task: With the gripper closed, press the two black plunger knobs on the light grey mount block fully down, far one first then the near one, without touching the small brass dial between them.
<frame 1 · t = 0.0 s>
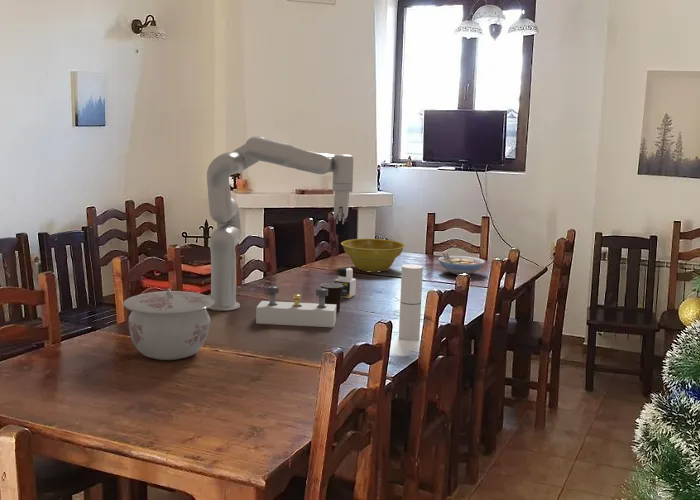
hand: (341, 232, 287), 31 cm above the table, tool pointing down, fingers open, 9 cm apart
chamber pot: (170, 354, 236), on the table
medicine bottle: (344, 296, 322), on the table
coffee mug: (332, 310, 298), on the table
knob far: (321, 299, 276), point 9 cm above the table, slide at 0.0 cm
cylindrical container: (409, 338, 262), on the table
mount: (296, 321, 278), on the table
ramen bowl: (460, 274, 377), on the table
planter bowl: (372, 270, 380), on the table
brass dial: (297, 301, 276), point 7 cm above the table, slide at 0.0 cm
knob near: (272, 297, 277), point 9 cm above the table, slide at 0.0 cm
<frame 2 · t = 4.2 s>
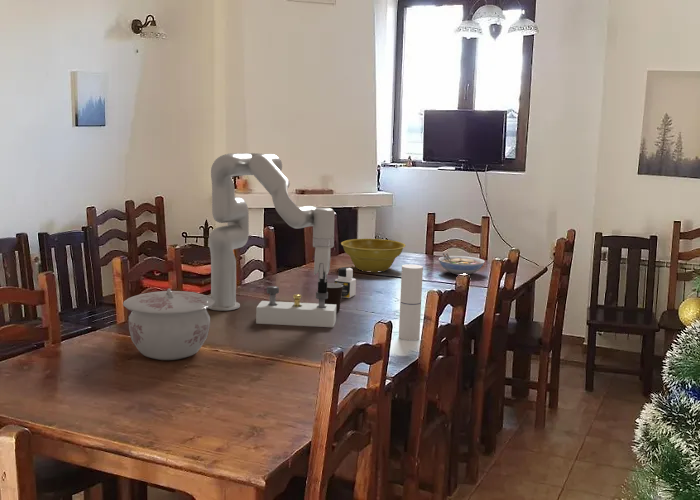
hand: (322, 292, 275), 11 cm above the table, tool pointing down, fingers closed
knob far: (321, 302, 276), point 8 cm above the table, slide at 1.1 cm, touching gripper
everything else where it was.
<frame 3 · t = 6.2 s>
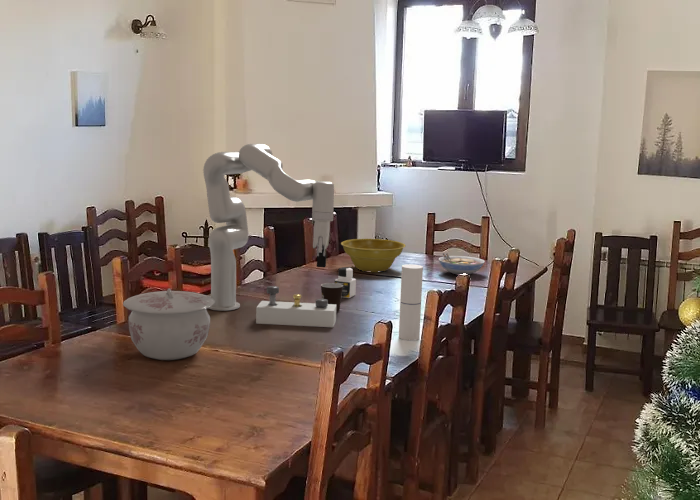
hand: (321, 266, 274), 21 cm above the table, tool pointing down, fingers closed
knob far: (321, 310, 276), point 5 cm above the table, slide at 4.0 cm
everything else where it was.
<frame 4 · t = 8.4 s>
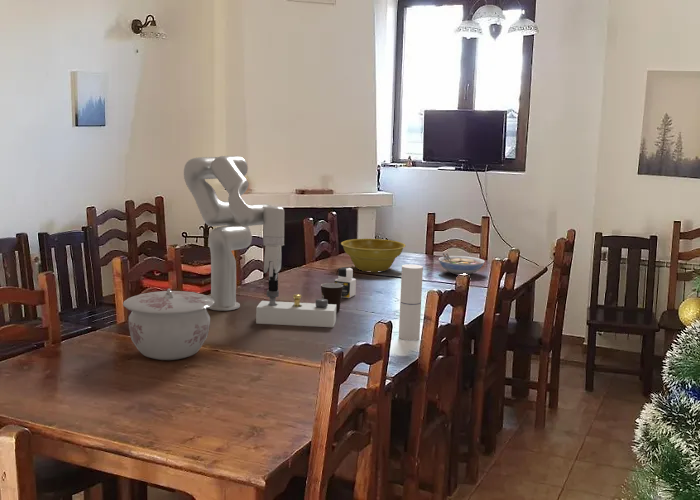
hand: (273, 290, 276), 11 cm above the table, tool pointing down, fingers closed
knob near: (272, 300, 277), point 8 cm above the table, slide at 1.3 cm, touching gripper
everything else where it was.
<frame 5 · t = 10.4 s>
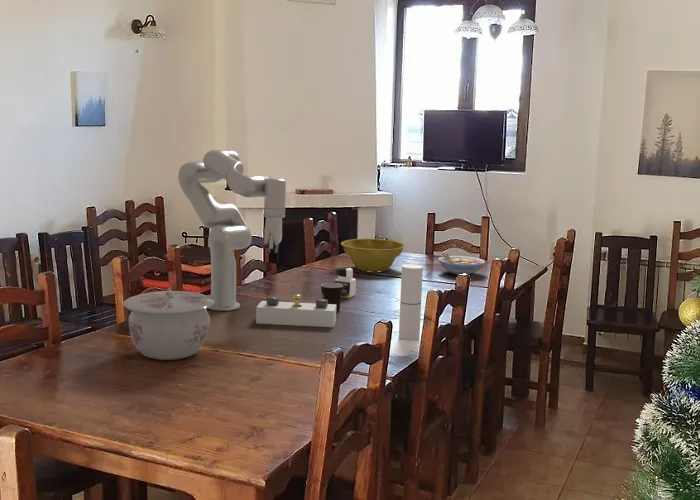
hand: (273, 262, 275), 21 cm above the table, tool pointing down, fingers closed
knob near: (272, 307, 277), point 5 cm above the table, slide at 4.0 cm
everything else where it was.
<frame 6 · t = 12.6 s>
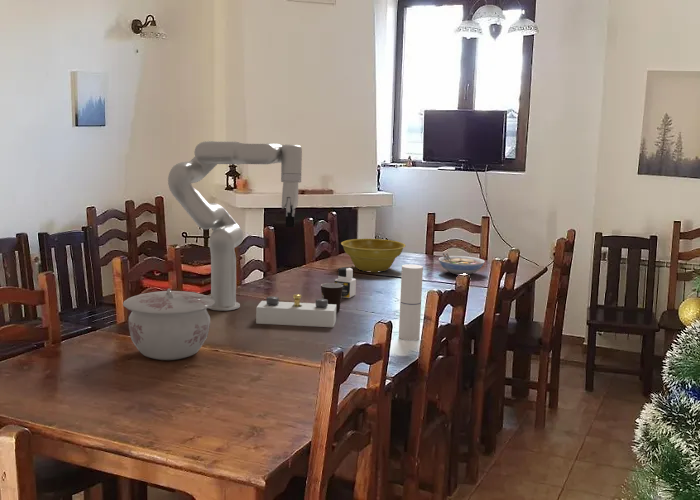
hand: (290, 226, 285), 33 cm above the table, tool pointing down, fingers closed
nothing on the table moved.
at the end: knob far slide at 4.0 cm; knob near slide at 4.0 cm; brass dial slide at 0.0 cm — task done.
